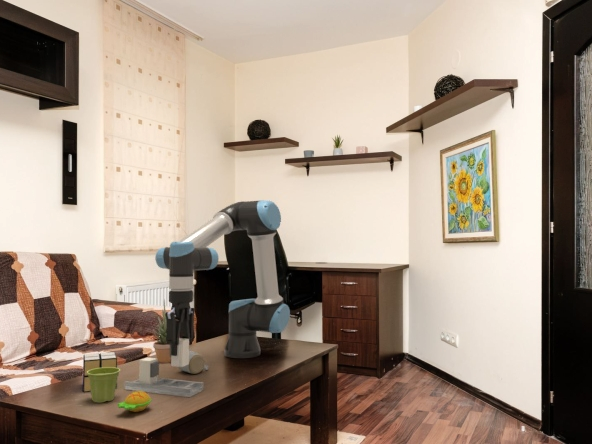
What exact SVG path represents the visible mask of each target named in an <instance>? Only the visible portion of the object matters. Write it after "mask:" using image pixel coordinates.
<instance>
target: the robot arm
mask: <svg viewBox="0 0 592 444" xmlns="http://www.w3.org/2000/svg"><path fill="white" fill-rule="evenodd" d="M280 211H281V210H280V209H279V207H278V206H277V204H276V203H275V202H274V201H272V200H264V199H263V200H262V199H261V200H250V201H246V200H245V201H237V202H235V203H231V204H230V205H228V206H226V207H224V208H222V209H221V210H219V211H217V212H216V213H215V214H214V215H213V217H212V219H210V220H208V221H207V222H205V224H203V225H201V226H200V227H198V228H197V229H195V230H194V231H192V232H191V233H190V234H188V235H187V236H185V237H184V238H182V239H180V240H179V241H172V242H171V243H170V244H169V247H168V246H166V247H161V248H159V249H157V251H156V253H155V263H156V265H157V266H158V268H160V269H166V270H169V271H168V272H169V274H168V276H169V277H168V279H169V280H168V282H169V284H168V287H169V288H168V289H169V291H168V302H169V303H171V307H170V310H169V311H165V312H166V314H165V315H166V319H167V344H168V345H171V362H170V366H171V367H178V366H180V345H178V344H179V338H186V339H189V343H190V342H193V338H194V322H195V311H196V308H195V307H191V303H192V302H193V301H194V291H193V289H194V271H205V270H206V271H209V270H213V269H215V268H216V267H217V265H218V264H219V253H218V252H217V251H216V249H214V248H212V247H209V246H210V245H211V244H212V243H214V242H215V241H217V240H218V239H219V238H221V237H223V236H224V235H229V234H231V233H232V232H235V231H246V233H247V234H246V235H247V236H248V237H249V238H250V240H251V243H252V252H253V254H252V255H253V264H254V272H255V273H254V274H255V284H256V293H257V297H256V298H246V299H239V300H232V301H230V303H229V304H228V338H227V339H226V344H225V347H224V351H223V352H224V356H225V357H227V358H232V359H250V358H255V357H259V356H261V346H260V344H259V341H258V340H259V339H258V337H257V332H263V333H271V334H274V333H275V334H278V333H282V332H284V331H285V330H286V328H287V326H288V324H289V322H290V319H291V311H290V307H289V305H288V304H286V303H284V297H282V295H280V294H279V284H278V273H277V264H276V263H277V262H276V253H275V244H274V237H275V235H276V234H277V230H278V229H279V228H280V225H281V222H282V216H281V215H282V213H281V212H280ZM180 336H181V337H180Z"/></svg>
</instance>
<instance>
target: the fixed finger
mask: <svg viewBox="0 0 592 444" xmlns="http://www.w3.org/2000/svg"><path fill="white" fill-rule="evenodd" d="M138 361H139V364H138V365H139V367H138V368H139V375H138V379H139V383H148V384H151V383H153V382H156V381H157V378H158V376H159V373H160V369H159V368H160V362H159V361H158V360H157V357H156V358H155V357H145V358H142V359H139V360H138Z"/></svg>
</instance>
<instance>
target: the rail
mask: <svg viewBox="0 0 592 444" xmlns="http://www.w3.org/2000/svg"><path fill="white" fill-rule="evenodd" d="M124 390H126V391H133V392H135V391H136V392H137V391H143V392H145V393H152V394H161V395H167V396H174V397H175V396H177V397H183V398H192V397H193V396H195V395H196V394H199V393H201V392H202V391H204V382H202V381H201V382H200V381H193V380H182V379H174V378H165V377H157V381H156V382H153V383H151V384H148V383H139V378H137V379H136V380H133V381H129V380H126V381H124Z"/></svg>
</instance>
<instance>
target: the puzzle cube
mask: <svg viewBox="0 0 592 444" xmlns="http://www.w3.org/2000/svg"><path fill="white" fill-rule="evenodd" d="M82 365H83V369H82V370H83V371H82V392H83V393H89V392H90V391H91V387H90V379H89V377H88V374H87V371H88V370H91V369H95V368H102V367H115V368H118V357H117V354H116V352H115V351H113V352H112V351H110V352H100V353H99V352H98V353H97V352H96V353H85V354H83V364H82ZM117 387H118V381H117V382H116V388H115V390H116V389H117Z"/></svg>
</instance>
